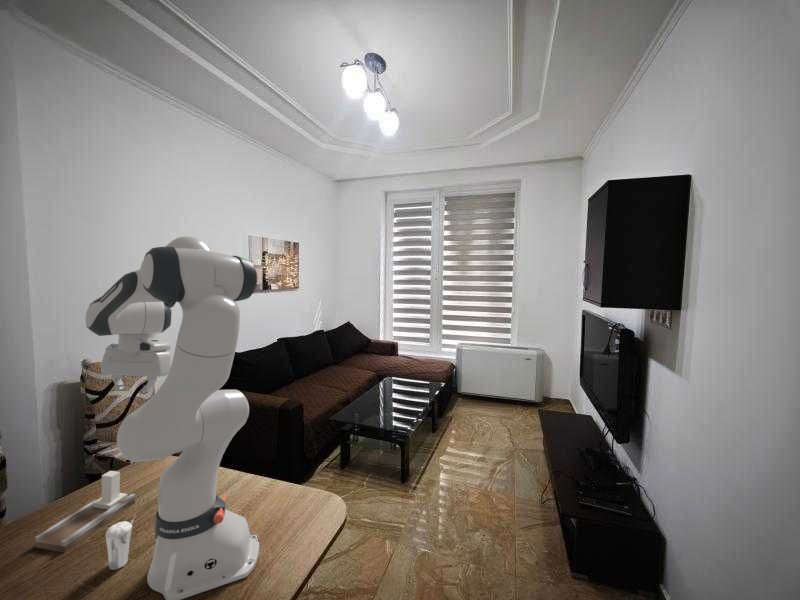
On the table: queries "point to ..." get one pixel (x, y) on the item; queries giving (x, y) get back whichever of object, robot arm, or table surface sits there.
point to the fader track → (79, 525)
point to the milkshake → (118, 544)
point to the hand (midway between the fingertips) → (133, 390)
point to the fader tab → (110, 491)
